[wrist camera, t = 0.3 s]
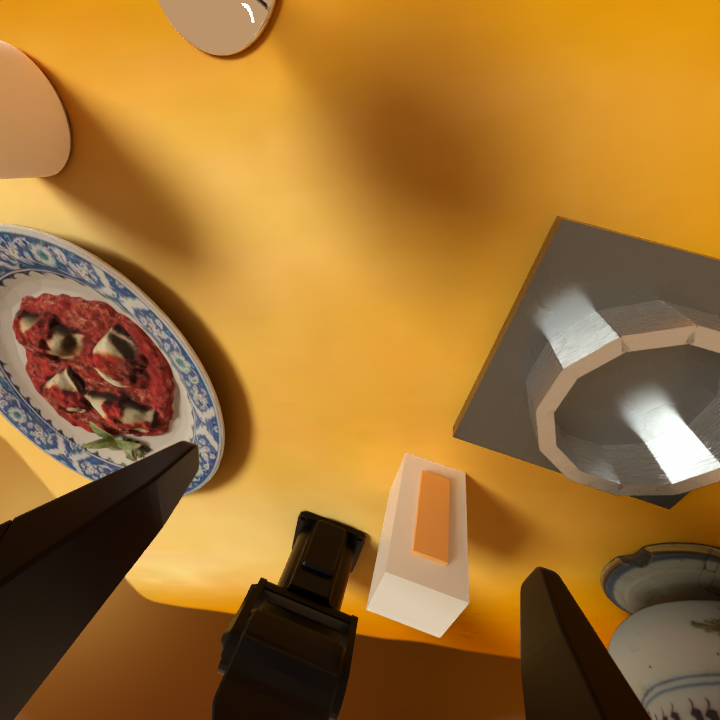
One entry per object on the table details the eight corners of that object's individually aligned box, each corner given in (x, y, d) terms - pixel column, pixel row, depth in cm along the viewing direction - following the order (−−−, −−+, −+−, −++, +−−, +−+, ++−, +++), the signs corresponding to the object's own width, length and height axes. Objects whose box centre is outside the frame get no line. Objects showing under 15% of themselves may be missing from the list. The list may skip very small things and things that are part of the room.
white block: (444, 509, 28) (440, 638, 21) (390, 490, 29) (366, 609, 21) (467, 469, 26) (471, 600, 18) (407, 449, 26) (387, 568, 18)
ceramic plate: (-82, 168, 24) (-144, 169, 22) (253, 293, 23) (228, 309, 20) (14, 426, 38) (-18, 444, 36) (227, 514, 37) (210, 540, 34)
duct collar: (661, 496, 23) (697, 554, 19) (453, 427, 24) (452, 470, 21) (876, 301, 15) (995, 340, 12) (557, 215, 17) (583, 230, 13)
